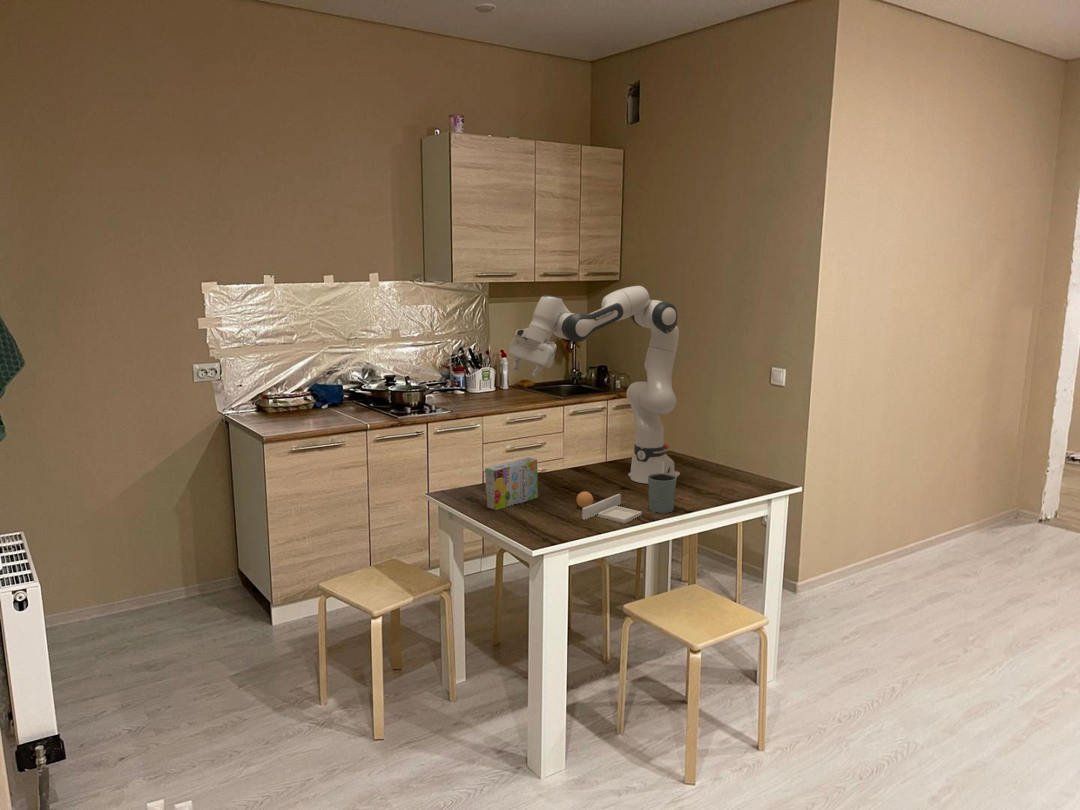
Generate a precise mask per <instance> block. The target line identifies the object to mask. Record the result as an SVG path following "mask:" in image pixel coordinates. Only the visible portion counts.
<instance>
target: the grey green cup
mask: <svg viewBox="0 0 1080 810" xmlns="http://www.w3.org/2000/svg"><path fill="white" fill-rule="evenodd" d="M677 478H678V477H676V476H674V475H670V474H651V475H649V476H648V484H647V485H648V507H649V508H648V509H649V511H650V512H652V511H654V512H653V513H655V512H658V513H657V514H669V512H670V513H672V512H673V511H674V508H675V496H676V485H677V480H678V479H677Z"/></svg>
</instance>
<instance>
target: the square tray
mask: <svg viewBox="0 0 1080 810" xmlns="http://www.w3.org/2000/svg"><path fill="white" fill-rule="evenodd" d="M641 515H643V511H639V510H635V509H631V508H627V507H624V506H620V505H619V506H614V507H611V508H609V509H606V510H604V511H602V512H599V513H598V515H597V518H599V517H600V518H599V519H603V518H604V519H603V520H607V519H608V521H611V522H612V521H613V522H616V523H620V524H624V525H625V524H627V523H629V522H631V521H633V519H634V520H636V519H637V517H638V518H640V517H642V516H641ZM639 516H640V517H639ZM635 518H636V519H635Z"/></svg>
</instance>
